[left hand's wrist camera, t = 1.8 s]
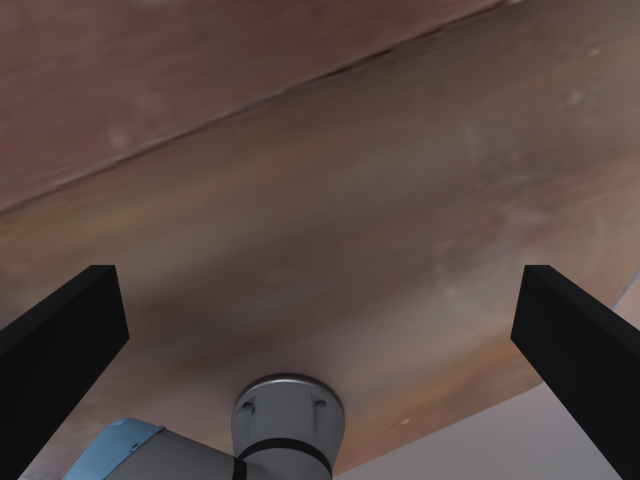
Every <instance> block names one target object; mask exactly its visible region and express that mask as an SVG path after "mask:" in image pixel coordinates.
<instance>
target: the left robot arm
mask: <svg viewBox="0 0 640 480" xmlns="http://www.w3.org/2000/svg"><path fill="white" fill-rule="evenodd" d="M129 339H130V337H129V332H128V327H127V322H126V317H125V313H124V308H123V303H122V298H121V293H120V288H119V283H118V278H117V273H116V268H115V265H90V266H89V267H88V268H86V269H85V270H84V271H82V272H81V273H79V274H78V275H77V276H75V277H74V278H73V279H71V280H70V281H68V282H67V283H66V284H64V285H63V286H62V287H60V288H59V289H57V290H56V291H55V292H53V293H52V294H50V295H49V296H48V297H46V298H45V299H44V300H42V301H41V302H39V303H38V304H37V305H35V306H34V307H33V308H31V309H30V310H28V311H27V312H26V313H24V314H23V315H22V316H20V317H19V318H17V319H16V320H15V321H13V322H12V323H11V324H9V325H8V326H6V327H5V328H4V329H2V330H1V331H0V480H17V479H18V478H19V477H20V476H21V474H22V473H23V472H24V471H25V469H26V468H27V467H28V466H29V464H30V463H31V462H32V461H33V459H34V458H35V457H36V456H37V454H38V453H39V452H40V451H41V449H42V448H43V447H44V445H45V444H46V443H47V442H48V440H49V439H50V438H51V437H52V435H53V434H54V433H55V432H56V430H57V429H58V428H59V427H60V425H61V424H62V423H63V422H64V420H65V419H66V418H67V417H68V415H69V414H70V413H71V412H72V410H73V409H74V408H75V406H76V405H77V404H78V403H79V401H80V400H81V399H82V398H83V396H84V395H85V394H86V393H87V391H88V390H89V389H90V388H91V386H92V385H93V384H94V383H95V381H96V380H97V379H98V378H99V376H100V375H101V374H102V373H103V371H104V370H105V369H106V367H107V366H108V365H109V364H110V362H111V361H112V360H113V359H114V357H115V356H116V355H117V354H118V352H119V351H120V350H121V349H122V347H123V346H124V345H125V344H126V342H127V341H128V340H129ZM510 339H511V340H512V341H513V342H514V344H515V345H516V346H517V347H518V349H519V350H520V351H521V352H522V354H523V355H524V356H525V357H526V359H527V360H528V361H529V362H530V364H531V365H532V366H533V367H534V369H535V370H536V371H537V373H538V374H539V375H540V376H541V378H542V379H543V380H544V381H545V383H546V384H547V385H548V386H549V388H550V389H551V390H552V391H553V393H554V394H555V395H556V396H557V398H558V399H559V400H560V401H561V403H562V404H563V405H564V406H565V408H566V409H567V410H568V412H569V413H570V414H571V415H572V417H573V418H574V419H575V420H576V422H577V423H578V424H579V425H580V427H581V428H582V429H583V430H584V432H585V433H586V434H587V435H588V437H589V438H590V439H591V440H592V442H593V443H594V444H595V445H596V447H597V448H598V449H599V451H600V452H601V453H602V454H603V456H604V457H605V458H606V459H607V461H608V462H609V463H610V464H611V466H612V467H613V468H614V469H615V471H616V472H617V473H618V474H619V476H620V477H621V478H622V479H623V480H640V331H639V330H638V329H636V328H635V327H634V326H632V325H631V324H629V323H628V322H627V321H625V320H624V319H623V318H621V317H620V316H618V315H617V314H616V313H614V312H613V311H612V310H610V309H609V308H607V307H606V306H605V305H603V304H602V303H601V302H599V301H598V300H596V299H595V298H594V297H592V296H591V295H590V294H588V293H587V292H585V291H584V290H583V289H581V288H580V287H578V286H577V285H576V284H574V283H573V282H572V281H570V280H569V279H567V278H566V277H565V276H563V275H562V274H561V273H559V272H558V271H556V270H555V269H554V268H552V267H551V266H550V265H525V268H524V273H523V278H522V283H521V288H520V293H519V298H518V303H517V308H516V313H515V317H514V322H513V327H512V332H511V337H510ZM344 427H345V424H344V412H343V408H342V405H341V402H340V400H339V399H338V397H337V396H336V395H335V393H334V392H333V391H332V390H331V389H330V388H329V387H327V386H326V385H325V384H323V383H321V382H320V381H318V380H316V379H313V378H311V377H308V376H304V375H300V374H292V373H282V374H274V375H270V376H266V377H263V378H261V379H258V380H257V381H255V382H253V383H252V384H250V385H249V386H248V387H246V388H245V389H244V390H243V391H242V393H241V394H240V395H239V397H238V399H237V401H236V403H235V407H234V410H233V414H232V419H231V432H232V441H233V450H234V457H233V456H231V455H229V454H226V453H224V452H221V451H219V450H216V449H214V448H211V447H209V446H206V445H204V444H201V443H199V442H196V441H193V440H191V439H188V438H186V437H183V436H181V435H179V434H176V433H174V432H172V431H169V430H167V429H166V427H164V426H156V425H153V424H149V423H146V422H143V421H140V420H137V419H134V418H122V419H118V420H116V421H114V422H113V423H111V424H110V425H108V426H107V427H106V428H105V429H104V430H103V431H102V432H101V433H100V434H99V435H98V436H97V437H96V438H95V439H94V440H93V441H92V443H91V444H90V445H89V446H88V447H87V448H86V450H85V451H84V452H83V453H82V454H81V456H80V457H79V458H78V459H77V461H76V462H75V463H74V464H73V466H72V467H71V468H70V469H69V471H68V472H67V473H66V475H65V476H64V477H63V479H62V480H332V470H333V467H334V463H335V460H336V457H337V454H338V451H339V448H340V445H341V442H342V439H343V434H344Z"/></svg>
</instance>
